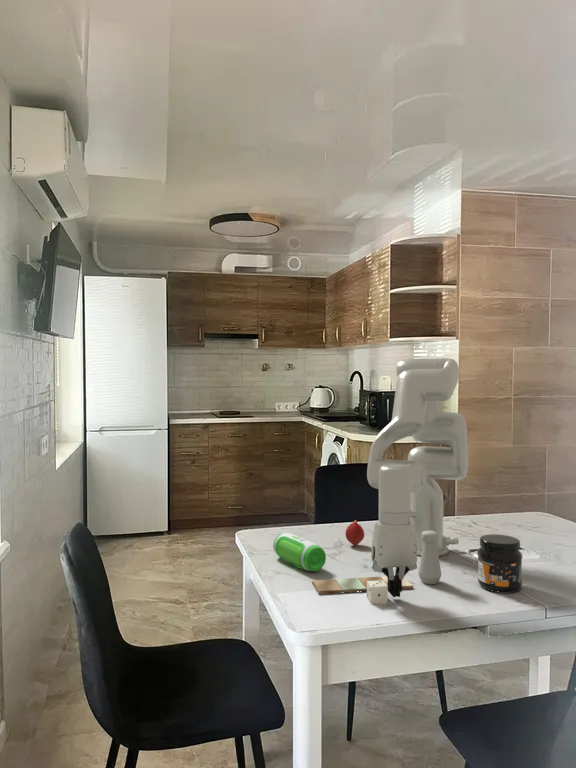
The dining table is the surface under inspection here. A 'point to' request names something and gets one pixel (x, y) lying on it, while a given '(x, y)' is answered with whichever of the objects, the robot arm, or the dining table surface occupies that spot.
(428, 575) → the salt shaker
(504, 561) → the supplement container
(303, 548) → the speaker
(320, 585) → the track
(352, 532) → the onion
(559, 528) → the dining table surface
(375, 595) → the die
